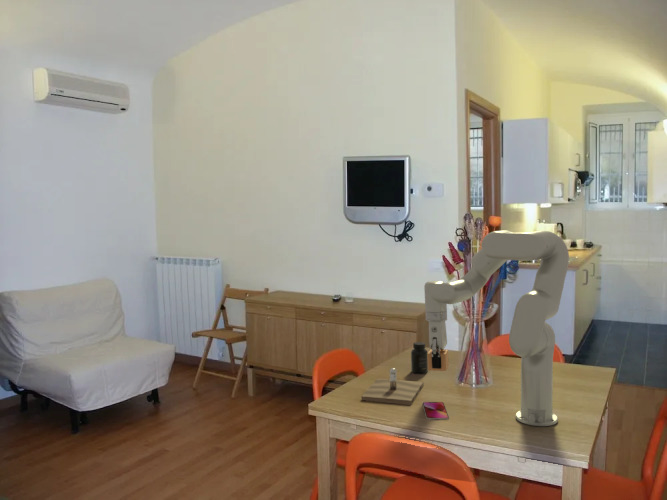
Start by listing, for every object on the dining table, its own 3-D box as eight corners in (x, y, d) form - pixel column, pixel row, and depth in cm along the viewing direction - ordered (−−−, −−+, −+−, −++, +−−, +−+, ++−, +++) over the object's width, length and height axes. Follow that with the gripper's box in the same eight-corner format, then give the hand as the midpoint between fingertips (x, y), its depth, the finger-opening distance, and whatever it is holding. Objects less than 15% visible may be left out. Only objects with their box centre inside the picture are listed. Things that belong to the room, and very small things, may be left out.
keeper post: (396, 390, 216) (395, 369, 216) (389, 389, 217) (388, 368, 217) (397, 388, 219) (397, 367, 218) (390, 387, 220) (390, 366, 219)
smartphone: (426, 418, 191) (422, 401, 206) (426, 421, 191) (422, 404, 206) (449, 418, 190) (443, 401, 205) (449, 421, 190) (443, 404, 205)
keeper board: (411, 404, 205) (411, 400, 205) (361, 400, 211) (361, 396, 211) (423, 385, 225) (423, 381, 225) (377, 382, 231) (377, 378, 231)
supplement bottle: (408, 370, 246) (407, 342, 245) (422, 368, 248) (421, 340, 248) (417, 375, 239) (416, 346, 238) (431, 372, 242) (430, 343, 241)
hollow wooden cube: (446, 370, 207) (445, 354, 207) (428, 370, 209) (427, 353, 209) (448, 366, 213) (448, 349, 213) (431, 365, 215) (430, 349, 215)
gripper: (443, 320, 201) (445, 372, 202) (450, 311, 217) (452, 360, 218) (421, 320, 203) (423, 371, 204) (430, 311, 220) (432, 359, 221)
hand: (438, 365), depth 211 cm, fingers closed on hollow wooden cube, 6 cm apart
